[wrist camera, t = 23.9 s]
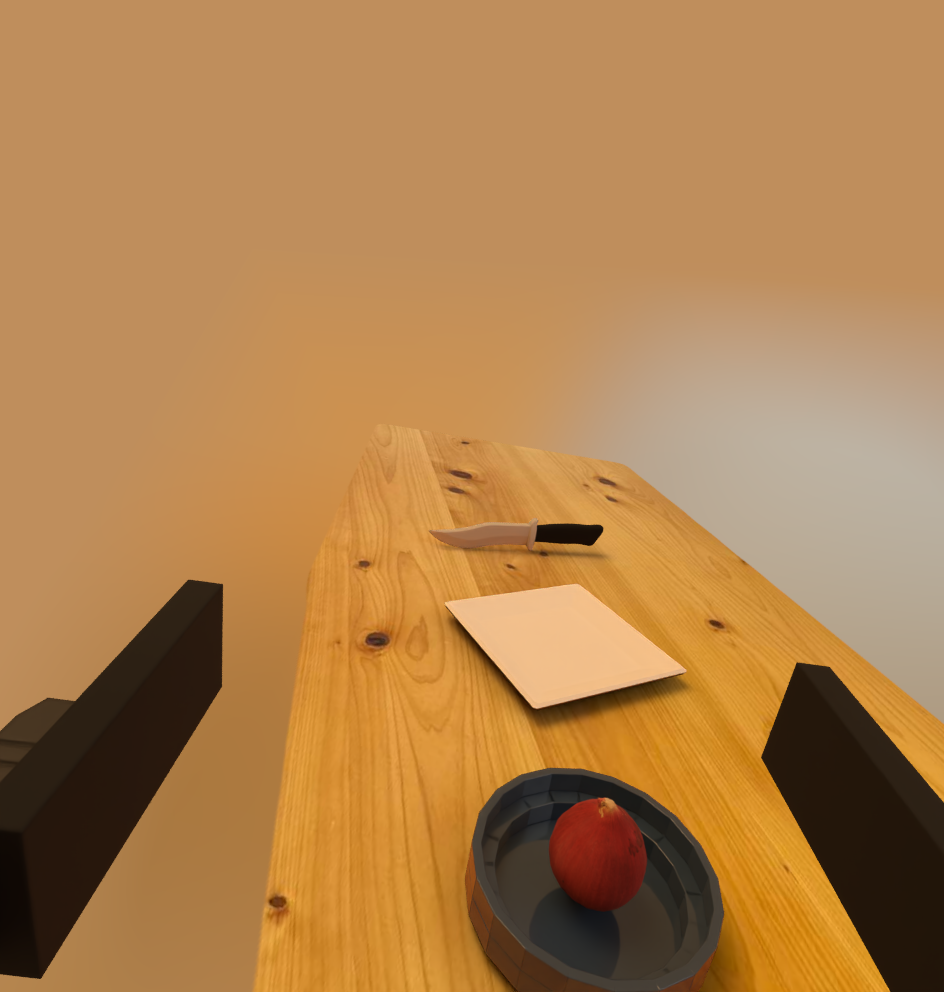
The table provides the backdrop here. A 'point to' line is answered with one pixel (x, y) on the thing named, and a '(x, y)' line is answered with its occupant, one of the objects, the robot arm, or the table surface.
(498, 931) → the bowl
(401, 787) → the table surface
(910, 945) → the robot arm
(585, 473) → the table surface
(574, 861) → the onion
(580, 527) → the knife
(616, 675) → the plate
